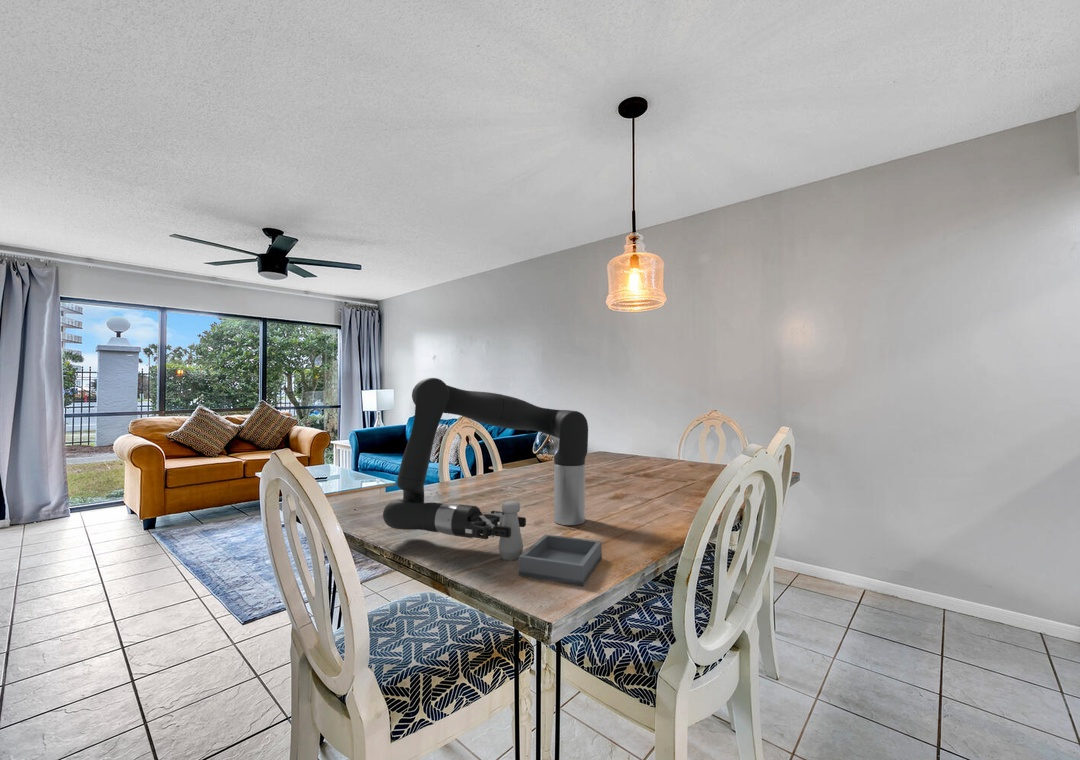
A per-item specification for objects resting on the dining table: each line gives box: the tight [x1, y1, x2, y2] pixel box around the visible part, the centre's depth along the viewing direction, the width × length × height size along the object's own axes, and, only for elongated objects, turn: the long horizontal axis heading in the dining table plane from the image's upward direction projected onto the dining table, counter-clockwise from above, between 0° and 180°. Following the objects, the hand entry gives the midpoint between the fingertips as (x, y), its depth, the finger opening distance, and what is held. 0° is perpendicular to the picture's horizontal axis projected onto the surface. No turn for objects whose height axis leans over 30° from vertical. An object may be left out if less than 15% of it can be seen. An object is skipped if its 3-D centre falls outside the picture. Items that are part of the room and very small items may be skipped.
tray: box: [518, 533, 602, 587], centre depth 100 cm, size 16×14×4 cm
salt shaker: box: [497, 500, 524, 561], centre depth 105 cm, size 6×6×13 cm
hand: (518, 527), depth 105 cm, fingers open, 8 cm apart
